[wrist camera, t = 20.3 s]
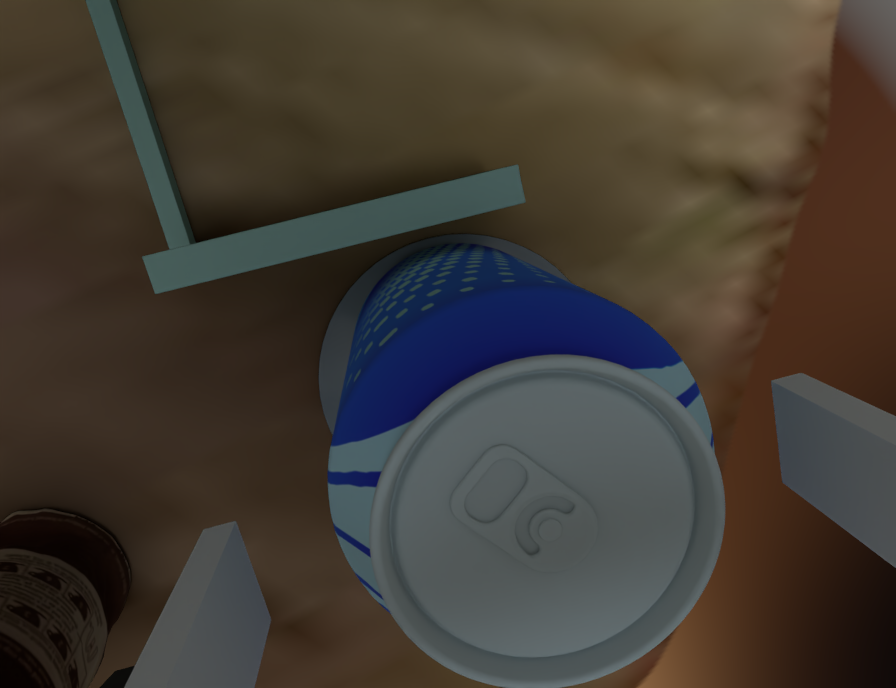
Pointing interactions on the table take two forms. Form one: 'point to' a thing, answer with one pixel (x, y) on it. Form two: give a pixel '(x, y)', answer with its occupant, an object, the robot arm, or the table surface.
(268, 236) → the rack
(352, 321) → the flat grey disc
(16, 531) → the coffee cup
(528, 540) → the beer can
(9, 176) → the table surface
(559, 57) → the table surface
